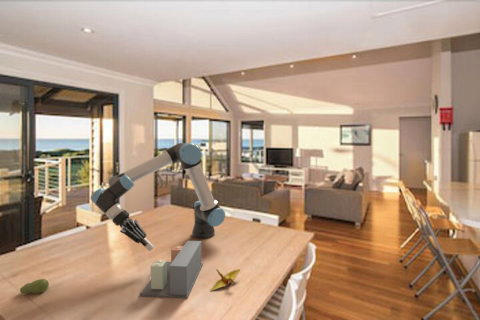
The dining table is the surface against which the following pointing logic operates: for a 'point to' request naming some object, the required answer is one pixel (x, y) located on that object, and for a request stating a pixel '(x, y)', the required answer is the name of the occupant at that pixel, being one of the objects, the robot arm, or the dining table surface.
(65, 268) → the dining table surface
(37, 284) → the pear
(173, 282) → the console
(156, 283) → the button two
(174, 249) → the button one
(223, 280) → the origami crane
